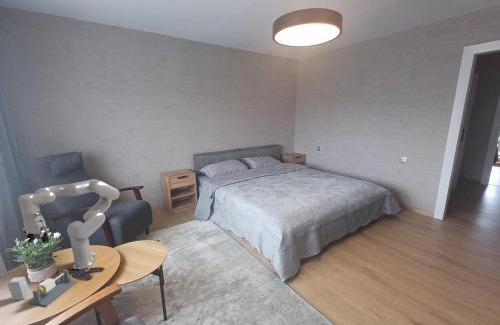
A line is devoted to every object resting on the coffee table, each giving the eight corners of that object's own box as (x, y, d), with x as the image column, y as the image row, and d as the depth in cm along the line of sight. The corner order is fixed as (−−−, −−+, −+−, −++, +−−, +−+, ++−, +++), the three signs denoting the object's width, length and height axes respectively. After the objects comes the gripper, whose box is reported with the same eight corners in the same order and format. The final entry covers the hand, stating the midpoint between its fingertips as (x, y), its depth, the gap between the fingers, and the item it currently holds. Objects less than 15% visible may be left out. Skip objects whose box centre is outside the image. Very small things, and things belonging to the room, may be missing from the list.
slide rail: (60, 280, 140) (57, 268, 138) (76, 282, 138) (74, 270, 136) (28, 303, 123) (25, 290, 121) (46, 306, 121) (43, 293, 119)
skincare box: (30, 293, 130) (26, 275, 127) (23, 300, 125) (18, 281, 123) (19, 294, 129) (14, 276, 126) (12, 301, 125) (6, 282, 122)
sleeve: (49, 285, 130) (47, 278, 129) (55, 285, 129) (54, 279, 128) (40, 291, 125) (38, 284, 124) (46, 292, 124) (45, 285, 123)
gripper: (51, 212, 132) (57, 238, 136) (26, 211, 134) (33, 236, 138) (37, 218, 125) (44, 245, 128) (11, 217, 127) (19, 243, 131)
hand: (38, 241), depth 133 cm, fingers open, 9 cm apart
